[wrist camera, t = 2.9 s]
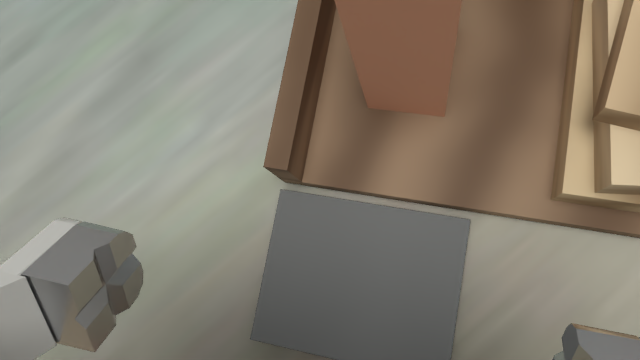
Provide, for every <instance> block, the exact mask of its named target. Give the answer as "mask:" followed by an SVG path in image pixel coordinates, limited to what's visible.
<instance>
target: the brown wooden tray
mask: <svg viewBox="0 0 640 360" xmlns="http://www.w3.org/2000/svg"><path fill="white" fill-rule="evenodd" d="M573 4H574V0H462V5H461V12H460V19H459V26H458V32H457V39H456V45H455V52H454V58H453V65H452V71H451V78H450V84H449V91H448V97H447V104H446V110H445V117H440V116H432V115H423V114H415V113H406V112H397V111H389V110H380V109H372V108H368V106H367V103H366V100H365V97H364V94H363V90H362V87H361V84H360V81H359V78H358V74H357V71H356V68H355V65H354V61H353V58H352V55H351V52H350V49H349V45H348V42H347V39H346V36H345V33H344V29H343V26H342V23H341V20H340V17H339V13H338V10H337V7H336V4H335V1H334V0H298V4H297V9H296V14H295V19H294V24H293V28H292V33H291V38H290V43H289V47H288V52H287V57H286V62H285V66H284V71H283V76H282V81H281V85H280V90H279V95H278V100H277V104H276V109H275V114H274V119H273V123H272V128H271V133H270V138H269V142H268V147H267V152H266V157H265V162H264V166H263V167H265V168H266V169H267V170H269V171H270V172H272V173H273V174H274V175H276V176H277V177H279V178H280V179H281V180H283V181H284V182H286V183H293V184H299V185H305V186H312V187H318V188H325V189H331V190H337V191H344V192H350V193H356V194H363V195H369V196H376V197H382V198H388V199H395V200H401V201H407V202H414V203H420V204H427V205H433V206H439V207H446V208H452V209H459V210H465V211H471V212H478V213H484V214H490V215H497V216H503V217H510V218H516V219H522V220H529V221H535V222H541V223H548V224H554V225H561V226H567V227H573V228H580V229H586V230H592V231H599V232H605V233H612V234H618V235H624V236H631V237H637V238H640V213H636V212H629V211H622V210H616V209H609V208H602V207H595V206H588V205H581V204H575V203H568V202H561V201H554V200H551V195H552V186H553V177H554V169H555V160H556V151H557V142H558V134H559V125H560V116H561V108H562V99H563V90H564V82H565V73H566V64H567V56H568V47H569V38H570V30H571V21H572V12H573Z"/></svg>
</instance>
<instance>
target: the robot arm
mask: <svg viewBox="0 0 640 360" xmlns="http://www.w3.org/2000/svg"><path fill="white" fill-rule="evenodd" d="M135 248H136V244H135V241H134V238H133V235H132V234H130V233H128V232H126V231H122V230H117V229H113V228H109V227H105V226H100V225H96V224H92V223H88V222H82V221H77V220H73V219H69V218H65V217H63V218H59V219H56V220H54V221H53V222H51V223H50V224H49V225H48V226H47V227H46V228H44V229H43V230H42V231H41V232H40V233H38V234H37V235H36V236H35V237H34V238H33V239H31V240H30V241H29V242H28V243H27V244H25V245H24V246H23V247H22V248H21V249H20V250H18V251H17V252H16V253H15V254H14V255H13V256H11V257H10V258H9V259H8V260H7V261H5V262H4V263H3V264H2V265H1V266H0V360H34V359H36V358H38V357H39V356H41V355H42V354H44V353H46V352H47V351H49V350H50V349H52V348H54V347H55V346H56V345H57V344H56V343H58V344H62V345H67V346H71V347H75V348H79V349H83V350H87V351H91V352H95V351H96V350H97V349H98V348H99V346H100V345H101V344H102V343H103V341H104V340H105V339H106V337H107V336H108V335H109V334H110V332H111V331H112V330H113V329H114V327H115V326H116V315H117V314H119V313H121V312H123V311H125V310H127V309H129V308H130V307H131V305H132V304H133V303H134V301H135V300H136V299H137V297H138V295H139V292H140V290H141V287H142V284H143V269H142V266H141V263H140V262H139V261H138V260H137V258H136V257H135V256H134V255H133V254H132V253H133V251H134V250H135ZM562 343H563V351H562V352H560V353H558V354H556V355H554V357H553V360H640V337H637V336H634V335H629V334H624V333H619V332H613V331H608V330H603V329H598V328H593V327H588V326H583V325H578V324H573V323H571V324H570V325H569V326H568V327H567V328H566V330H565V332H564V334H563V336H562Z"/></svg>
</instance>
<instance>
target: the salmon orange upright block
mask: <svg viewBox="0 0 640 360" xmlns="http://www.w3.org/2000/svg"><path fill="white" fill-rule="evenodd" d="M334 1H335V4H336V7H337V10H338V13H339V17H340V20H341V23H342V26H343V29H344V33H345V36H346V39H347V42H348V45H349V49H350V52H351V55H352V58H353V61H354V65H355V68H356V71H357V74H358V78H359V81H360V84H361V87H362V90H363V94H364V97H365V100H366V103H367V106H368V108H372V109H380V110H389V111H397V112H406V113H415V114H423V115H432V116H440V117H445V110H446V104H447V97H448V91H449V84H450V78H451V71H452V65H453V58H454V52H455V45H456V39H457V32H458V26H459V19H460V12H461V5H462V0H334Z"/></svg>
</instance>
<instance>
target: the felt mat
mask: <svg viewBox="0 0 640 360" xmlns="http://www.w3.org/2000/svg"><path fill="white" fill-rule="evenodd" d="M469 226H470V220H469V219H463V218H457V217H451V216H444V215H438V214H432V213H426V212H420V211H413V210H407V209H401V208H395V207H388V206H382V205H376V204H370V203H363V202H357V201H351V200H345V199H339V198H332V197H326V196H320V195H314V194H307V193H301V192H295V191H289V190H282V189H281V190H280V195H279V200H278V205H277V210H276V215H275V220H274V225H273V230H272V235H271V239H270V244H269V249H268V254H267V259H266V264H265V269H264V274H263V279H262V284H261V289H260V294H259V299H258V303H257V308H256V313H255V318H254V323H253V328H252V333H251V338H250V339H251V340H255V341H259V342H264V343H268V344H272V345H276V346H281V347H285V348H289V349H293V350H297V351H302V352H306V353H310V354H314V355H319V356H323V357H327V358H331V359H335V360H451V354H452V347H453V340H454V333H455V326H456V319H457V312H458V304H459V297H460V290H461V283H462V276H463V269H464V262H465V255H466V247H467V240H468V233H469Z"/></svg>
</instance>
